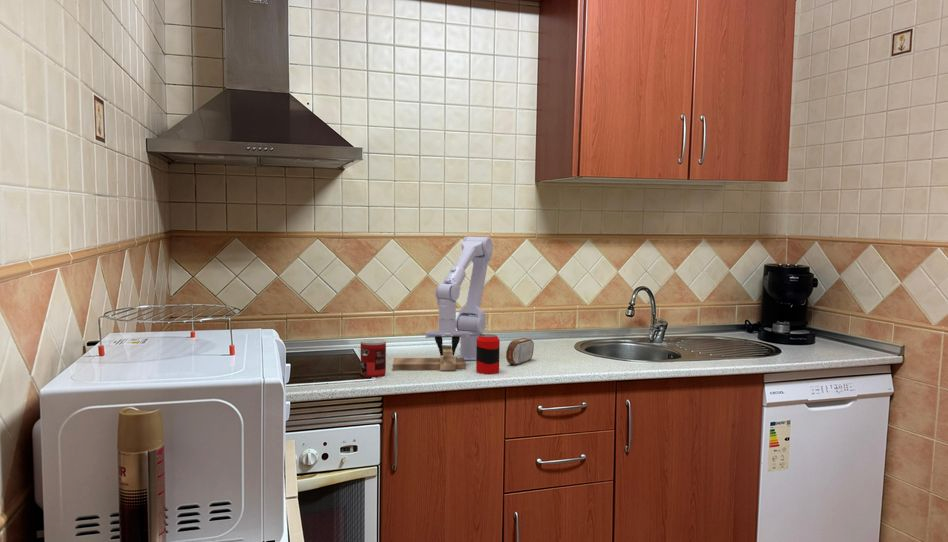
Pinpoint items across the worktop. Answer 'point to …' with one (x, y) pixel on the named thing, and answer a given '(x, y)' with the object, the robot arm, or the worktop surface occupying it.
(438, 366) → the board
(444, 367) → the wooden block
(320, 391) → the worktop surface
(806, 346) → the worktop surface
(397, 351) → the worktop surface
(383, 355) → the canned food
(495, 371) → the soda can
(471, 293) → the robot arm
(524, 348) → the tin
